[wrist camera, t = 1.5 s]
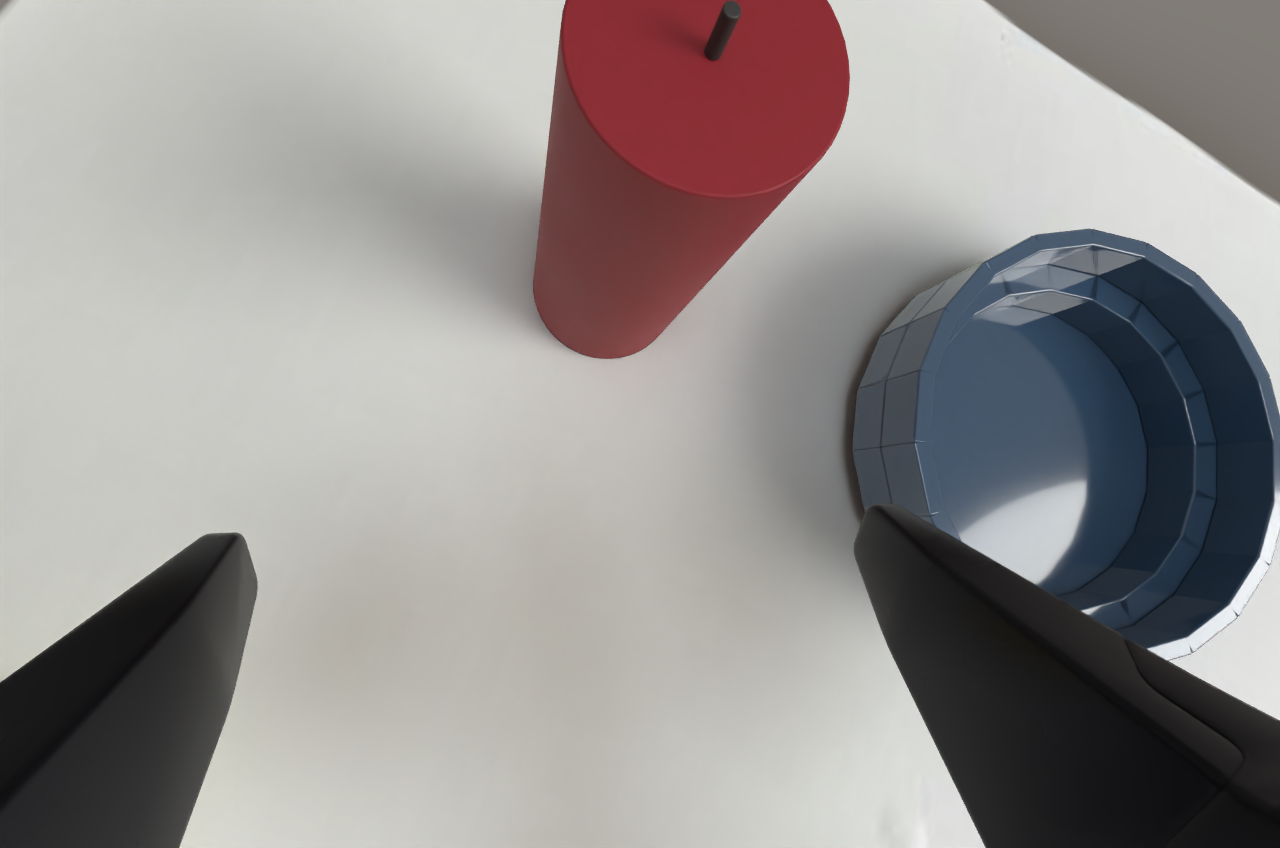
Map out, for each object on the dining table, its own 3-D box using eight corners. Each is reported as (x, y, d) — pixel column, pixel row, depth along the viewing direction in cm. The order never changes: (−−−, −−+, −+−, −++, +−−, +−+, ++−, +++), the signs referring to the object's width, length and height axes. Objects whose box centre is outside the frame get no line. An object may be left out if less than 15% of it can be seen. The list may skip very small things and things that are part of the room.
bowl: (1214, 523, 27) (1352, 529, 23) (956, 712, 24) (1058, 760, 19) (1054, 221, 27) (1160, 168, 23) (776, 368, 24) (836, 339, 19)
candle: (697, 322, 23) (937, 98, 10) (574, 383, 22) (668, 218, 9) (633, 200, 23) (790, -179, 10) (507, 254, 22) (503, -93, 9)
